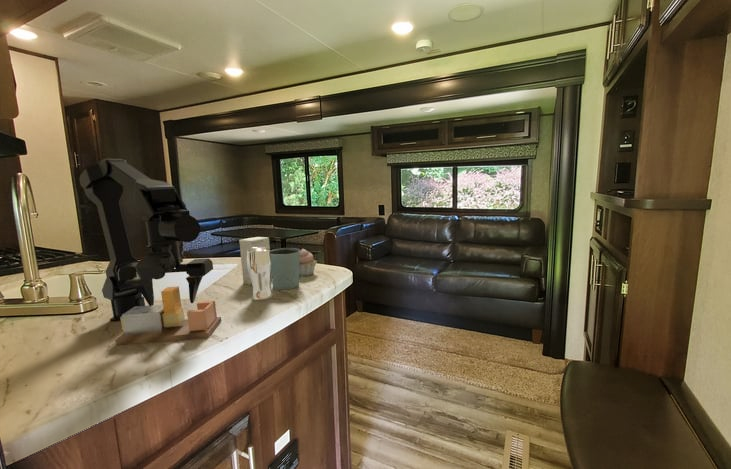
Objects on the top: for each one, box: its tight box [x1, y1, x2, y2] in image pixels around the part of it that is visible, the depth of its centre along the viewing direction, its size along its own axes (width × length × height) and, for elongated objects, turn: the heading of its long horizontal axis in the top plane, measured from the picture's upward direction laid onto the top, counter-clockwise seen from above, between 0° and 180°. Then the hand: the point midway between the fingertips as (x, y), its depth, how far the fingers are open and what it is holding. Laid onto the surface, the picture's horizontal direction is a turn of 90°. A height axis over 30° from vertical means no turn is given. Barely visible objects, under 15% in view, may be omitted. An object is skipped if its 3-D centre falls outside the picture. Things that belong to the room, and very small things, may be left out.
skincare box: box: [238, 236, 273, 286], centre depth 117 cm, size 8×7×16 cm
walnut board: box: [114, 316, 222, 346], centre depth 80 cm, size 20×9×1 cm, turn 96°
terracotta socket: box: [186, 300, 218, 331], centre depth 80 cm, size 4×7×5 cm, turn 6°
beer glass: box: [247, 247, 274, 301], centre depth 101 cm, size 7×7×15 cm
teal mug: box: [270, 247, 301, 291], centre depth 112 cm, size 10×10×12 cm
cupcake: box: [299, 248, 318, 278], centre depth 124 cm, size 9×9×10 cm
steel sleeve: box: [122, 304, 168, 335], centre depth 79 cm, size 8×5×5 cm, turn 96°
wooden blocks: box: [120, 286, 185, 331], centre depth 79 cm, size 12×3×9 cm, turn 96°
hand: (172, 304), depth 79 cm, fingers open, 9 cm apart
